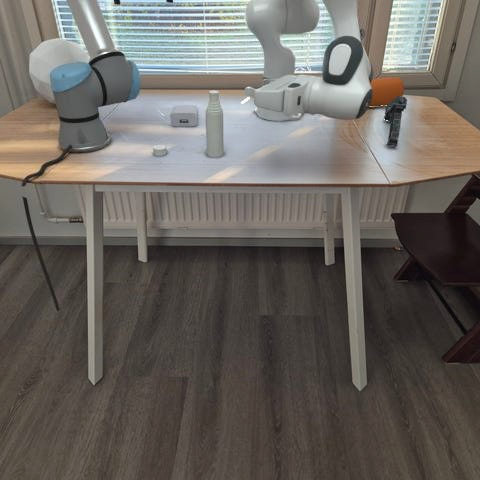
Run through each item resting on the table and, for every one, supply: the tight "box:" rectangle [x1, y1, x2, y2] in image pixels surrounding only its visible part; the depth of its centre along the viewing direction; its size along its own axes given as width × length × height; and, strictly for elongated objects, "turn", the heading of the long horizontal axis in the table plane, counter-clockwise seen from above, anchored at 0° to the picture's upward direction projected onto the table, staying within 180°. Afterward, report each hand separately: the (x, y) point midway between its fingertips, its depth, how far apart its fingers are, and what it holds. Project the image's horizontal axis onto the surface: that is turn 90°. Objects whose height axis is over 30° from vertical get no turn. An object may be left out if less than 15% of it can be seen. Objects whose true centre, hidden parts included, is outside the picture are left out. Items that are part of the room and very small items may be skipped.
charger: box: [169, 105, 199, 127], centre depth 148 cm, size 5×9×15 cm
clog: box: [368, 76, 405, 109], centre depth 165 cm, size 12×11×25 cm
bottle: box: [205, 89, 225, 159], centre depth 119 cm, size 5×5×19 cm
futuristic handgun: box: [383, 95, 408, 147], centre depth 138 cm, size 4×29×15 cm, turn 164°
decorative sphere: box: [28, 37, 90, 105], centre depth 157 cm, size 24×25×25 cm
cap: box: [152, 144, 167, 157], centre depth 123 cm, size 4×4×2 cm
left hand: (144, 3), depth 101 cm, fingers open, 13 cm apart
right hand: (254, 86), depth 107 cm, fingers open, 8 cm apart
